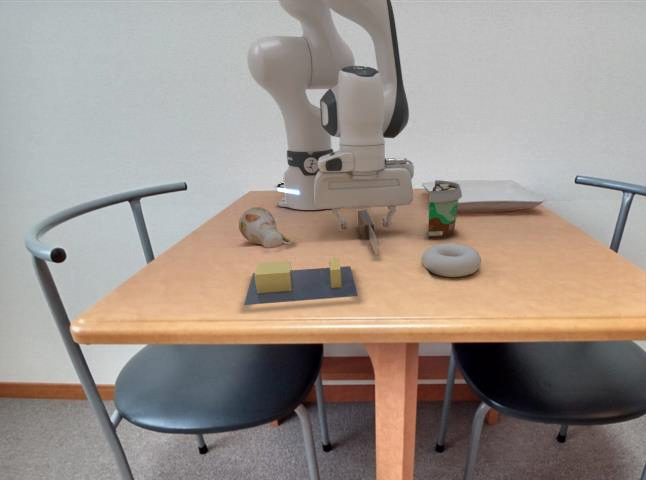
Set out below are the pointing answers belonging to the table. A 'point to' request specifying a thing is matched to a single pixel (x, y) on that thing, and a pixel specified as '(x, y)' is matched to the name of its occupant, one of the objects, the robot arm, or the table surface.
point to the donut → (451, 260)
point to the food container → (443, 209)
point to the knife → (367, 228)
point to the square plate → (492, 196)
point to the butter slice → (335, 273)
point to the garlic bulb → (261, 228)
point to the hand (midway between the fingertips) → (364, 227)
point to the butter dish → (296, 284)
